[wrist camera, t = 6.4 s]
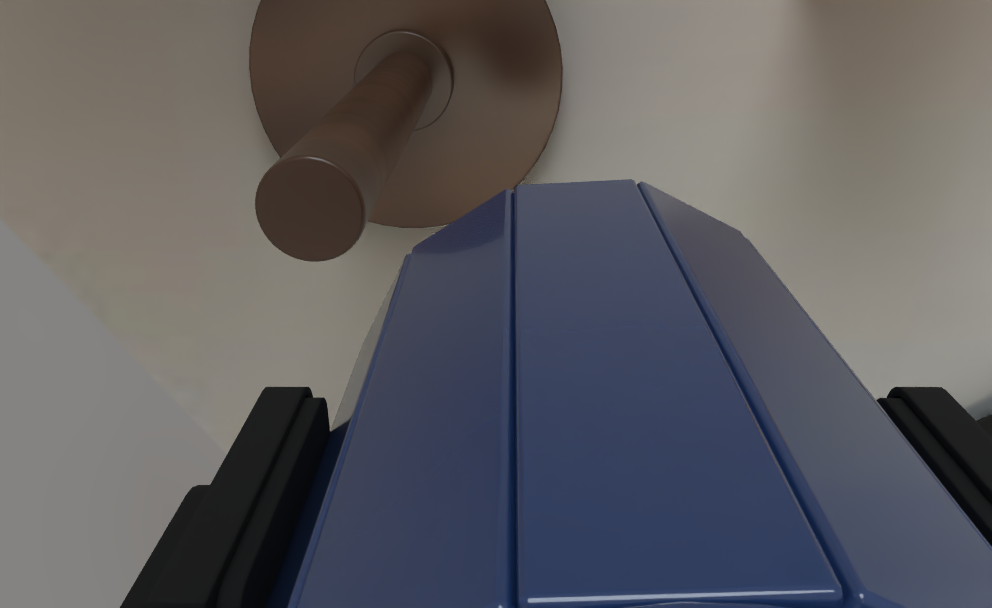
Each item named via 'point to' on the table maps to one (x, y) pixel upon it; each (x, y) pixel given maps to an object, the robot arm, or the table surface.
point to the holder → (396, 112)
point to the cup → (614, 432)
